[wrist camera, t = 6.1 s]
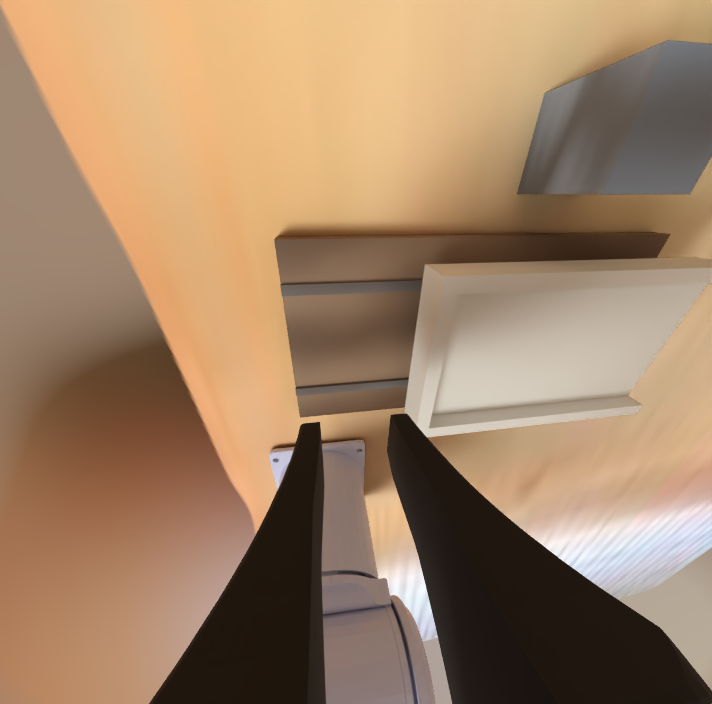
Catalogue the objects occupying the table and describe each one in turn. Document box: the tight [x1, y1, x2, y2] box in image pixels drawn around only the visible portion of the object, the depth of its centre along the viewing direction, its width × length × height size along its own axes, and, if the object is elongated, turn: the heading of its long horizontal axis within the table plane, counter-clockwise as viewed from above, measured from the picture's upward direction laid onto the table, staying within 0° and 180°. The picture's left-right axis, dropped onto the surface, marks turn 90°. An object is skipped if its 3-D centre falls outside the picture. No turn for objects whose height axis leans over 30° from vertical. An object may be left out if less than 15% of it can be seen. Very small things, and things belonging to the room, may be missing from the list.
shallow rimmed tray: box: [404, 257, 712, 437], centre depth 16 cm, size 10×16×3 cm, turn 90°
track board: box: [274, 232, 670, 417], centre depth 18 cm, size 12×23×1 cm, turn 90°
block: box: [517, 40, 712, 194], centre depth 11 cm, size 4×4×5 cm
